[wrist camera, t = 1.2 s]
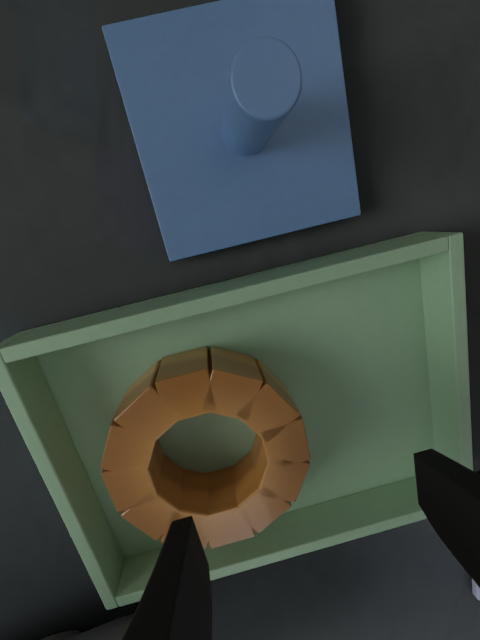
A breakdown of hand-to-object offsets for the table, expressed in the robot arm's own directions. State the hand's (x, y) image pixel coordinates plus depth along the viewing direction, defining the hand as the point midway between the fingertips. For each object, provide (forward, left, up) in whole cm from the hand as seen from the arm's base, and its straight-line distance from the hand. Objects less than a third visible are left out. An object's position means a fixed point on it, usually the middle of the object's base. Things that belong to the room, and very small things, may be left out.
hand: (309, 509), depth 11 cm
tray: (0, +1, -6) cm, 6 cm away
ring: (0, +3, -6) cm, 7 cm away
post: (+12, -1, -6) cm, 14 cm away
